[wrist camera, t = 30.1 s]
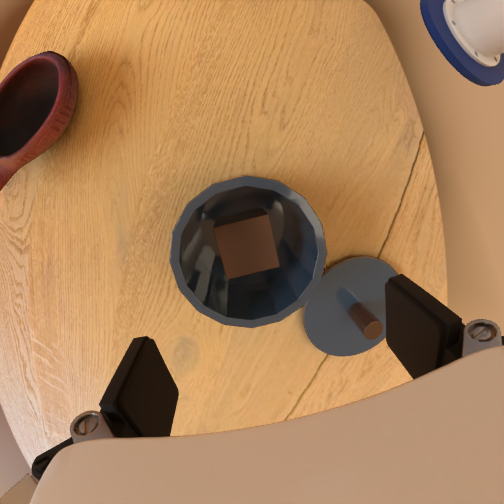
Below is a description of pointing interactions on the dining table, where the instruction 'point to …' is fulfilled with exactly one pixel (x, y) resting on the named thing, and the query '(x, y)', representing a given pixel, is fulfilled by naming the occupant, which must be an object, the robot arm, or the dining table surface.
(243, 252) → the block
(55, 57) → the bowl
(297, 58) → the dining table surface
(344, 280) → the lid
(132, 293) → the dining table surface
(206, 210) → the canister
